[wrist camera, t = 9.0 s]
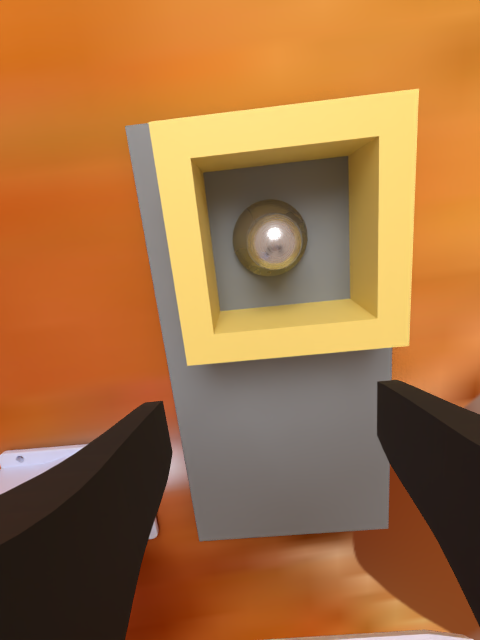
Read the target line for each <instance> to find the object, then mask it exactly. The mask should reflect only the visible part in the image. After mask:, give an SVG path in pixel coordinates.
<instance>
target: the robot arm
mask: <svg viewBox="0 0 480 640" xmlns="http://www.w3.org/2000/svg"><path fill="white" fill-rule="evenodd" d="M377 437H378V439H379V441H380V443H381V446H382V448H383V450H384V452H385V455H386V457H387V459H388V461H389V463H390V464H391V466H392V468H393V469H394V471H395V473H396V474H397V476H398V477H399V479H400V481H401V482H402V484H403V486H404V487H405V489H406V490H407V492H408V493H409V495H410V497H411V498H412V500H413V501H414V503H415V505H416V506H417V508H418V509H419V511H420V512H421V514H422V516H423V517H424V519H425V520H426V522H427V524H428V525H429V527H430V529H431V530H432V532H433V533H434V535H435V537H436V539H437V541H438V542H439V544H440V546H441V548H442V550H443V552H444V554H445V556H446V558H447V560H448V562H449V564H450V566H451V568H452V570H453V572H454V574H455V576H456V578H457V580H458V582H459V584H460V586H461V588H462V590H463V593H464V595H465V597H466V599H467V601H468V603H469V605H470V607H471V609H472V611H473V613H474V615H475V618H476V620H477V622H478V624H479V626H480V415H479V414H477V413H474V412H472V411H469V410H467V409H464V408H462V407H459V406H457V405H455V404H452V403H450V402H448V401H445V400H443V399H441V398H439V397H436V396H434V395H432V394H430V393H427V392H425V391H423V390H421V389H418V388H416V387H414V386H411V385H409V384H407V383H404V382H401V381H398V380H388V381H377ZM21 456H22V457H23V458H22V457H21ZM171 458H172V447H171V442H170V437H169V431H168V426H167V421H166V416H165V410H164V405H163V401H157V402H146V403H144V404H142V405H140V406H139V407H138V408H136V409H135V410H133V411H132V412H131V413H130V414H128V415H127V416H126V417H124V418H123V419H122V420H120V421H119V422H118V423H116V424H115V425H114V426H113V427H111V428H110V429H109V430H107V431H106V432H105V433H103V434H102V435H101V436H99V437H98V438H96V439H95V440H93V441H92V442H91V443H89V444H83V445H71V446H58V447H46V448H34V449H22V450H10V451H4V452H3V453H2V454H1V455H0V465H1V468H2V469H1V470H0V640H125V637H126V632H127V627H128V622H129V617H130V613H131V608H132V603H133V598H134V594H135V589H136V585H137V580H138V576H139V571H140V567H141V563H142V559H143V555H144V552H145V548H146V545H147V542H148V539H153V538H155V537H157V535H158V531H159V529H158V524H157V520H156V515H157V512H158V508H159V505H160V502H161V499H162V496H163V493H164V490H165V487H166V483H167V480H168V475H169V470H170V464H171ZM266 640H473V639H471V638H469V637H467V636H465V635H461V634H454V633H446V632H438V631H430V630H412V631H396V632H380V633H364V634H348V635H331V636H315V637H299V638H283V639H266Z"/></svg>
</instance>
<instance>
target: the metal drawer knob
mask: <svg viewBox="0 0 480 640" xmlns="http://www.w3.org/2000/svg"><path fill="white" fill-rule="evenodd" d="M306 246H307V228H306V225H305V222H304V220H303V218H302V216H301V215H300V213H299V212H298V211H297V210H296V209H295V208H294V207H292V206H291V205H290V204H288V203H286V202H283V201H280V200H274V199H267V200H262V201H259V202H256V203H254V204H252V205H250V206H249V207H248V208H246V209H245V210H244V211H243V212H242V214H241V215H240V216H239V218H238V220H237V222H236V224H235V227H234V230H233V247H234V251H235V253H236V256H237V258H238V259H239V261H240V262H241V263H242V265H243V266H245V267H246V268H247V269H248V270H250V271H251V272H253V273H256V274H258V275H262V276H276V275H280V274H283V273H285V272H287V271H289V270H290V269H292V268H293V267H294V266H295V265H296V264H297V263H298V262H299V261H300V259H301V258H302V256H303V254H304V252H305V249H306Z"/></svg>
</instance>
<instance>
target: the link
mask: <svg viewBox="0 0 480 640" xmlns="http://www.w3.org/2000/svg"><path fill="white" fill-rule="evenodd" d="M418 96H419V89H413V90H405V91H396V92H388V93H380V94H372V95H364V96H356V97H348V98H340V99H331V100H323V101H315V102H307V103H299V104H291V105H283V106H275V107H266V108H258V109H250V110H242V111H234V112H226V113H218V114H210V115H201V116H193V117H185V118H177V119H169V120H161V121H153V122H148V123H149V130H150V136H151V142H152V148H153V155H154V161H155V167H156V173H157V180H158V186H159V192H160V198H161V205H162V211H163V217H164V223H165V230H166V236H167V242H168V248H169V255H170V261H171V267H172V273H173V279H174V286H175V292H176V298H177V304H178V311H179V317H180V323H181V329H182V336H183V342H184V348H185V354H186V361H187V366H191V365H202V364H213V363H224V362H235V361H247V360H258V359H269V358H280V357H291V356H302V355H313V354H324V353H335V352H346V351H358V350H369V349H380V348H391V347H402V346H409V333H410V307H411V281H412V254H413V228H414V202H415V175H416V149H417V122H418ZM342 156H348V172H349V247H350V299H341V300H331V301H321V302H310V303H300V304H290V305H279V306H269V307H259V308H248V309H238V310H228V311H220V305H219V297H218V289H217V281H216V273H215V265H214V257H213V249H212V241H211V233H210V225H209V217H208V209H207V201H206V193H205V185H204V177H203V173H204V172H212V171H221V170H230V169H238V168H247V167H256V166H264V165H273V164H282V163H290V162H299V161H308V160H316V159H325V158H334V157H342Z"/></svg>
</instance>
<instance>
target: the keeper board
mask: <svg viewBox="0 0 480 640" xmlns="http://www.w3.org/2000/svg"><path fill="white" fill-rule="evenodd" d="M125 129H126V134H127V140H128V145H129V151H130V156H131V162H132V168H133V173H134V179H135V184H136V190H137V196H138V201H139V207H140V212H141V218H142V223H143V229H144V235H145V240H146V246H147V251H148V257H149V263H150V268H151V274H152V279H153V285H154V290H155V296H156V302H157V307H158V313H159V318H160V324H161V330H162V335H163V341H164V346H165V352H166V357H167V363H168V369H169V374H170V380H171V385H172V391H173V397H174V402H175V408H176V413H177V419H178V425H179V430H180V436H181V441H182V447H183V452H184V458H185V464H186V469H187V475H188V480H189V486H190V492H191V497H192V503H193V508H194V514H195V519H196V525H197V531H198V536H199V541H211V540H225V539H240V538H255V537H270V536H284V535H299V534H314V533H328V532H343V531H356V530H357V531H358V530H372V529H387V528H388V516H389V472H390V463H389V461H388V459H387V457H386V455H385V452H384V450H383V448H382V446H381V443H380V441H379V439H378V437H377V381H388V380H391V379H392V347H391V348H380V349H369V350H358V351H346V352H335V353H324V354H313V355H302V356H291V357H280V358H269V359H258V360H247V361H235V362H224V363H213V364H202V365H191V366H187V361H186V354H185V348H184V342H183V336H182V329H181V323H180V317H179V311H178V304H177V298H176V292H175V286H174V279H173V273H172V267H171V261H170V255H169V248H168V242H167V236H166V230H165V223H164V217H163V211H162V205H161V198H160V192H159V186H158V180H157V173H156V167H155V161H154V155H153V148H152V142H151V136H150V130H149V123H146V124H138V125H130V126H125ZM203 177H204V185H205V193H206V201H207V209H208V217H209V225H210V233H211V241H212V249H213V257H214V265H215V273H216V281H217V289H218V297H219V305H220V311H228V310H238V309H248V308H259V307H269V306H279V305H290V304H300V303H310V302H321V301H331V300H341V299H350V247H349V172H348V156H342V157H334V158H325V159H316V160H308V161H299V162H290V163H282V164H273V165H264V166H256V167H247V168H238V169H230V170H221V171H212V172H204V173H203ZM267 199H274V200H280V201H283V202H286V203H288V204H290V205H291V206H292V207H294V208H295V209H296V210H297V211H298V212H299V213H300V215H301V216H302V218H303V220H304V222H305V225H306V228H307V246H306V249H305V252H304V254H303V256H302V258H301V259H300V261H299V262H298V263H297V264H296V265H295V266H294V267H293V268H292V269H290V270H289V271H287V272H285V273H283V274H280V275H276V276H262V275H258V274H256V273H253V272H251V271H250V270H248V269H247V268H246V267H245V266H243V265H242V263H241V262H240V261H239V259H238V258H237V256H236V253H235V251H234V247H233V230H234V227H235V224H236V222H237V220H238V218H239V216H240V215H241V214H242V212H243V211H244V210H245V209H246V208H248V207H249V206H250V205H252V204H254V203H256V202H259V201H262V200H267Z"/></svg>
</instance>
